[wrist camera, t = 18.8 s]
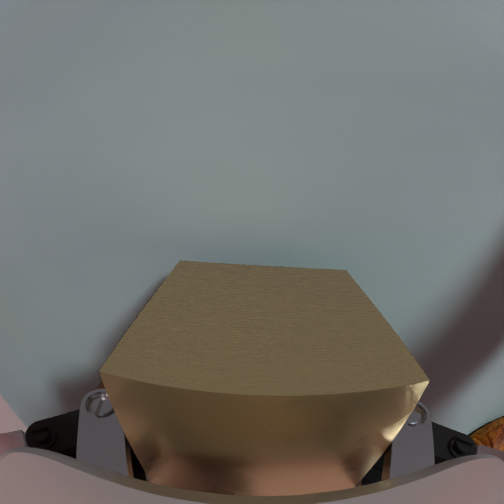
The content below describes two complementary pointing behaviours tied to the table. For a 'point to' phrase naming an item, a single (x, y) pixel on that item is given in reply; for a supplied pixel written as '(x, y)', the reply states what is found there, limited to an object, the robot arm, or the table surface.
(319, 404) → the brushed brass block
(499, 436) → the croissant
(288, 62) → the table surface
